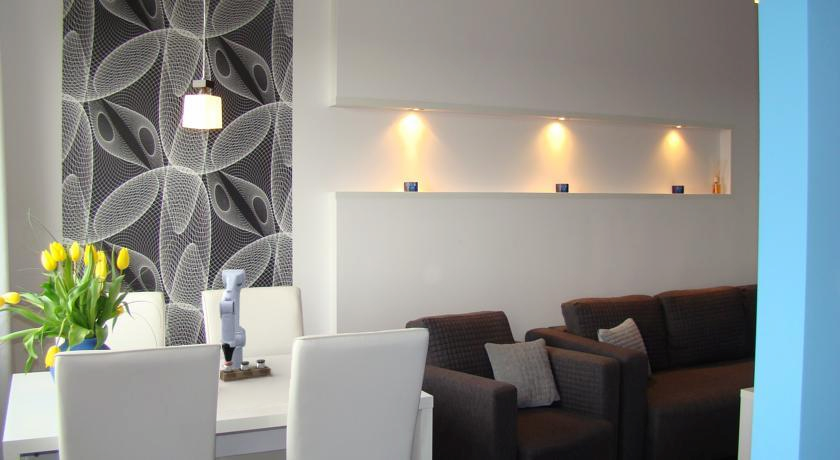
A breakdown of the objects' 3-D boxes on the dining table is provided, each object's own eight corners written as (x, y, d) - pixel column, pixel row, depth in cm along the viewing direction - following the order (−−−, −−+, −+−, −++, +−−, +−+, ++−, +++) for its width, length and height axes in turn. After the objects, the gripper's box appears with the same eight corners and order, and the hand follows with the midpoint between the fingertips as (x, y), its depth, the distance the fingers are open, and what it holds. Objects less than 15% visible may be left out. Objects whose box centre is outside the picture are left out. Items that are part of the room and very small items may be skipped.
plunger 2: (255, 372, 314) (255, 360, 313) (263, 371, 315) (263, 359, 315) (258, 374, 311) (258, 361, 310) (266, 373, 312) (266, 360, 312)
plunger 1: (239, 374, 310) (239, 361, 310) (247, 373, 312) (247, 360, 312) (242, 376, 307) (241, 363, 307) (250, 375, 309) (250, 362, 309)
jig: (218, 377, 308) (218, 370, 308) (264, 371, 318) (264, 365, 318) (224, 381, 301) (224, 374, 301) (270, 375, 311) (270, 368, 311)
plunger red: (223, 375, 307) (223, 362, 306) (231, 374, 308) (231, 361, 308) (225, 377, 303) (225, 363, 303) (234, 376, 305) (233, 363, 305)
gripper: (242, 330, 301) (243, 363, 301) (232, 325, 313) (232, 357, 314) (225, 332, 297) (226, 365, 298) (216, 327, 310) (216, 358, 310)
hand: (228, 361), depth 306 cm, fingers closed
